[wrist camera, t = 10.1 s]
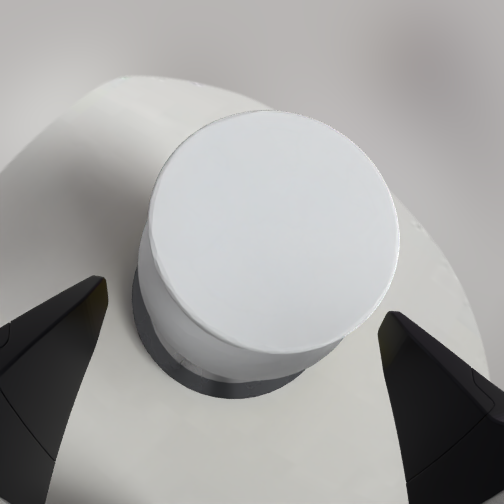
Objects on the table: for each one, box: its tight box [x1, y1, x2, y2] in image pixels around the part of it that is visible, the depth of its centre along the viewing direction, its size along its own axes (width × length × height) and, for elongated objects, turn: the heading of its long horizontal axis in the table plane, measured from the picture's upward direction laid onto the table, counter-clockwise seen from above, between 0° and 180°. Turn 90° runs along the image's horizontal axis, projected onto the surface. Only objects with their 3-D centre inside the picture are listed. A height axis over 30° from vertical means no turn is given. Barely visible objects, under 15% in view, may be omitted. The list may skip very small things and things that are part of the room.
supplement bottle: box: [138, 110, 400, 381], centre depth 11 cm, size 7×7×13 cm
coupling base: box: [132, 266, 305, 399], centre depth 18 cm, size 12×12×1 cm
